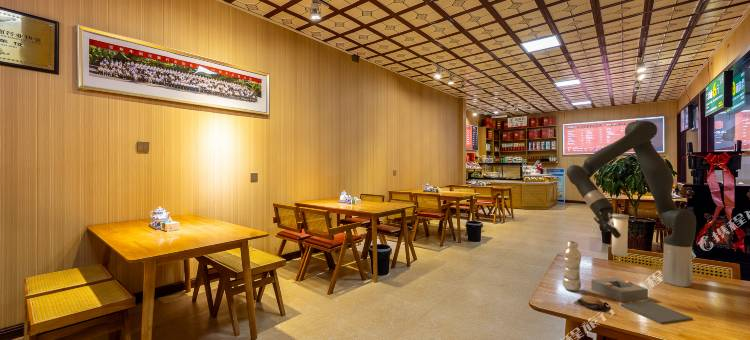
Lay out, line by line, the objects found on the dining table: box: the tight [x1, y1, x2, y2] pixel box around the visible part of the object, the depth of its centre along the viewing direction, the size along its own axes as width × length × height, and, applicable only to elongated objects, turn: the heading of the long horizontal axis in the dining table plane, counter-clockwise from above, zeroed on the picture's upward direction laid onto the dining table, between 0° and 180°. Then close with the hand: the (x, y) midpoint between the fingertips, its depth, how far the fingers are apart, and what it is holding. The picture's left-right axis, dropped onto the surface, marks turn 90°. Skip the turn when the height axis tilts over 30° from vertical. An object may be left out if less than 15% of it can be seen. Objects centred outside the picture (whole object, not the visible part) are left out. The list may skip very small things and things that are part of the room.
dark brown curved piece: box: [572, 295, 612, 313], centre depth 122 cm, size 11×8×4 cm
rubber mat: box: [619, 300, 693, 325], centre depth 117 cm, size 14×14×1 cm
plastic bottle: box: [562, 240, 582, 292], centre depth 137 cm, size 6×7×20 cm
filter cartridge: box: [611, 213, 630, 257], centre depth 133 cm, size 6×6×16 cm
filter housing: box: [590, 277, 649, 303], centre depth 133 cm, size 13×13×5 cm
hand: (624, 236), depth 131 cm, fingers closed on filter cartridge, 5 cm apart
